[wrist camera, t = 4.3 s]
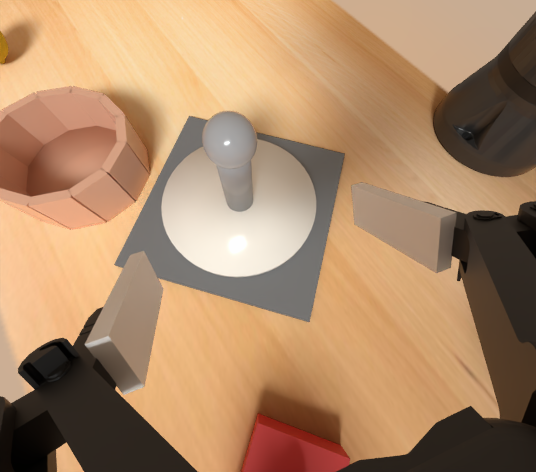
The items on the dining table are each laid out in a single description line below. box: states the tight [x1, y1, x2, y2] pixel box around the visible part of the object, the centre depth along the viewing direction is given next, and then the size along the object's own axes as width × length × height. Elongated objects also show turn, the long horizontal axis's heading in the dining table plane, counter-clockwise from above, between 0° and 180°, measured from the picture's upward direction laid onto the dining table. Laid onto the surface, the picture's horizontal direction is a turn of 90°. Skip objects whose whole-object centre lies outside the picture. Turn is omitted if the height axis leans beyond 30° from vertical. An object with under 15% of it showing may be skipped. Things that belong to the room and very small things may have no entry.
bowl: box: [0, 86, 150, 229], centre depth 30 cm, size 15×15×6 cm
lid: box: [161, 111, 316, 278], centre depth 25 cm, size 18×18×13 cm
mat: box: [114, 116, 345, 322], centre depth 31 cm, size 22×22×1 cm
